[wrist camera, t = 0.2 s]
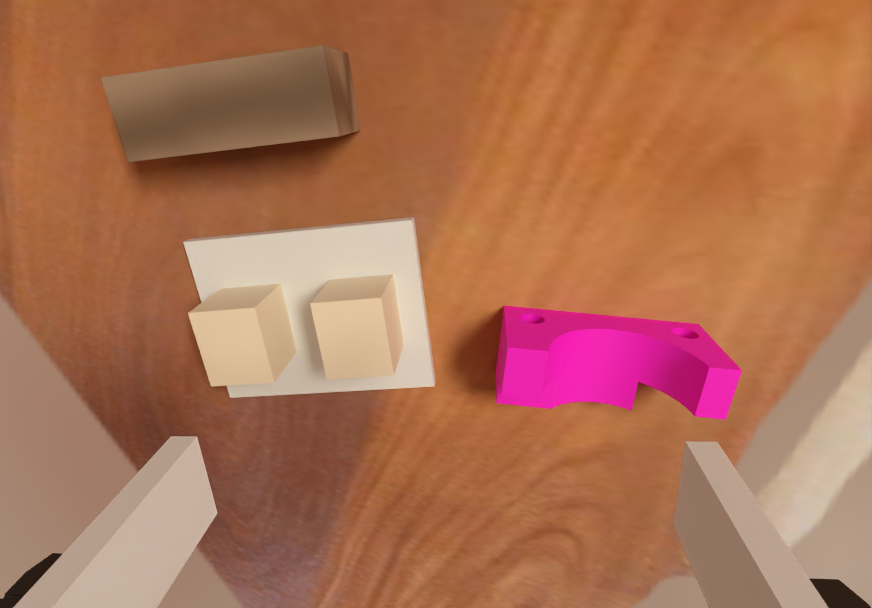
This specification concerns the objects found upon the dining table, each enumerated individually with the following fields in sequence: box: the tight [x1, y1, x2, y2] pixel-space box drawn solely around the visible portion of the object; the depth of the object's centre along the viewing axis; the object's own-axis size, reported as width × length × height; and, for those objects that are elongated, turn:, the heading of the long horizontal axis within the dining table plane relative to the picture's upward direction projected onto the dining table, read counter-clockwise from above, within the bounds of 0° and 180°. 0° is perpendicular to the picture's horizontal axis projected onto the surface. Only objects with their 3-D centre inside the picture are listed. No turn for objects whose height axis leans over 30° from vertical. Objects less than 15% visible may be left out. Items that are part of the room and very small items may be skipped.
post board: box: [183, 217, 435, 398], centre depth 40 cm, size 14×18×6 cm
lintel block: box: [101, 45, 360, 162], centre depth 34 cm, size 5×14×6 cm, turn 97°
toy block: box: [495, 306, 742, 419], centre depth 38 cm, size 15×6×8 cm, turn 86°
